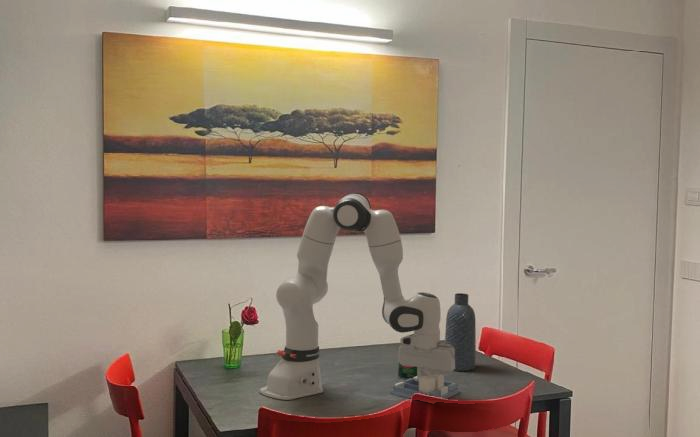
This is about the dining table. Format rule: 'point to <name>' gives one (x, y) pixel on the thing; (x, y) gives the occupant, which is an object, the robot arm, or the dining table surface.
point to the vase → (462, 333)
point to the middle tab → (438, 380)
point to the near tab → (426, 384)
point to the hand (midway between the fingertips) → (425, 380)
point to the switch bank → (412, 387)
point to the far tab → (419, 373)
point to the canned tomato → (406, 371)
